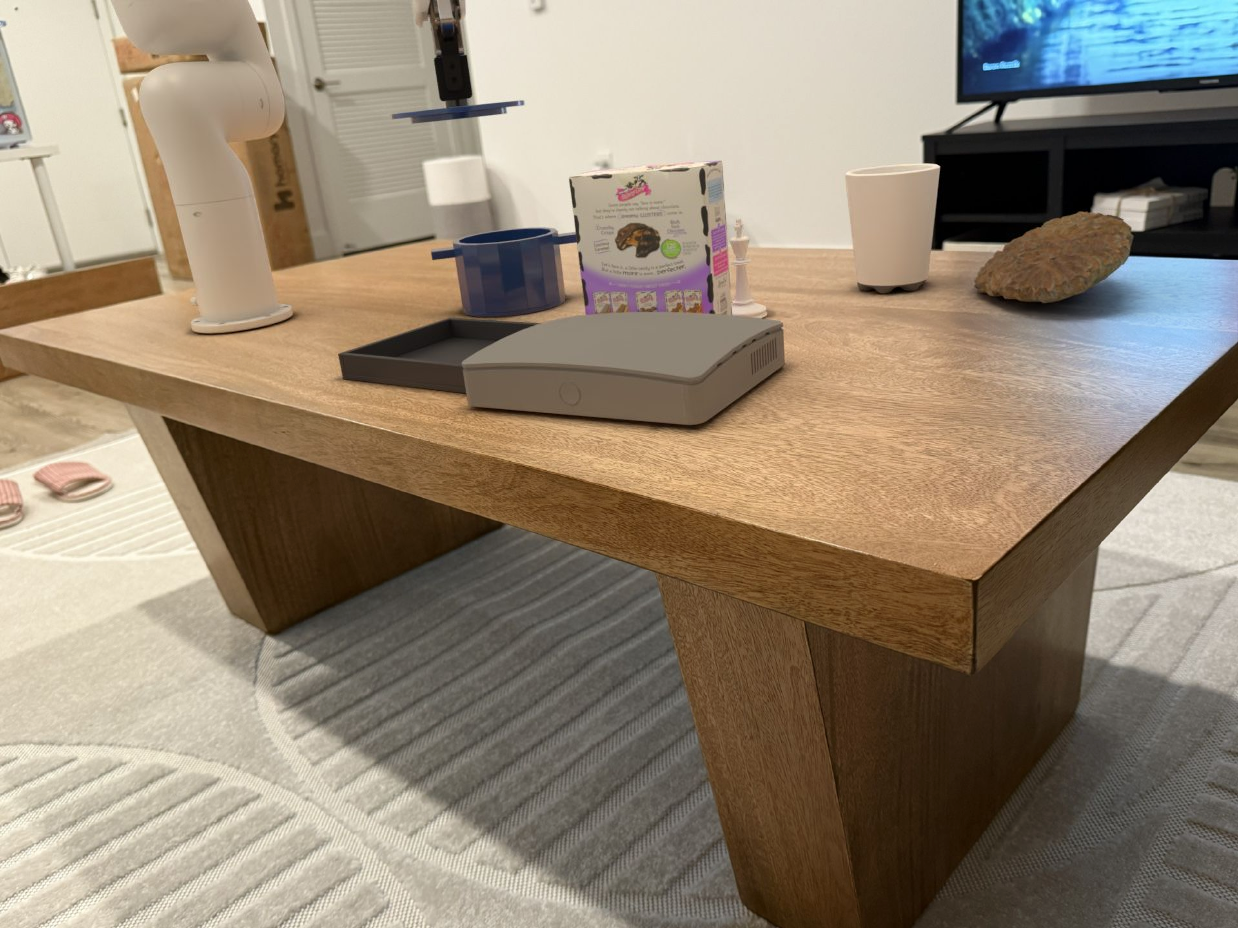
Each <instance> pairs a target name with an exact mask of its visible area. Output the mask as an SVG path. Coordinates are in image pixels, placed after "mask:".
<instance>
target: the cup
mask: <svg viewBox="0 0 1238 928" xmlns="http://www.w3.org/2000/svg"><path fill="white" fill-rule="evenodd" d="M940 171H941V166H940V165H938V164H936V163H902V164H901V163H899V164H888V165H877V166H869V167H868V166H867V167H862V168H861V167H860V168H856V169H852V170H848V171H846V172H845V173H844V178H845V179H844V180H845V187H846V197H847V205H848V215H849V223H850V224H849V225H850V233H851V242H852V250H853V259H854V268H855V277H856V284H857V287H858V288H859V290H861V291H867V292H868V291H872V290H875V291H876V292H877V293H879V294H890V293H891V292H892V291H893V290H894V289H895V288H900V289H902V290H903V291H907V292H914V291H917V290H918V289H919V288H920V287H921V286H924V285H925V284H926V282H927V280H928V279H929V273H930V265H931V254H932V246H933V245H932V244H933V236H934V227H935V218H936V209H937V199H938V189H939V180H940Z"/></svg>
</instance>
